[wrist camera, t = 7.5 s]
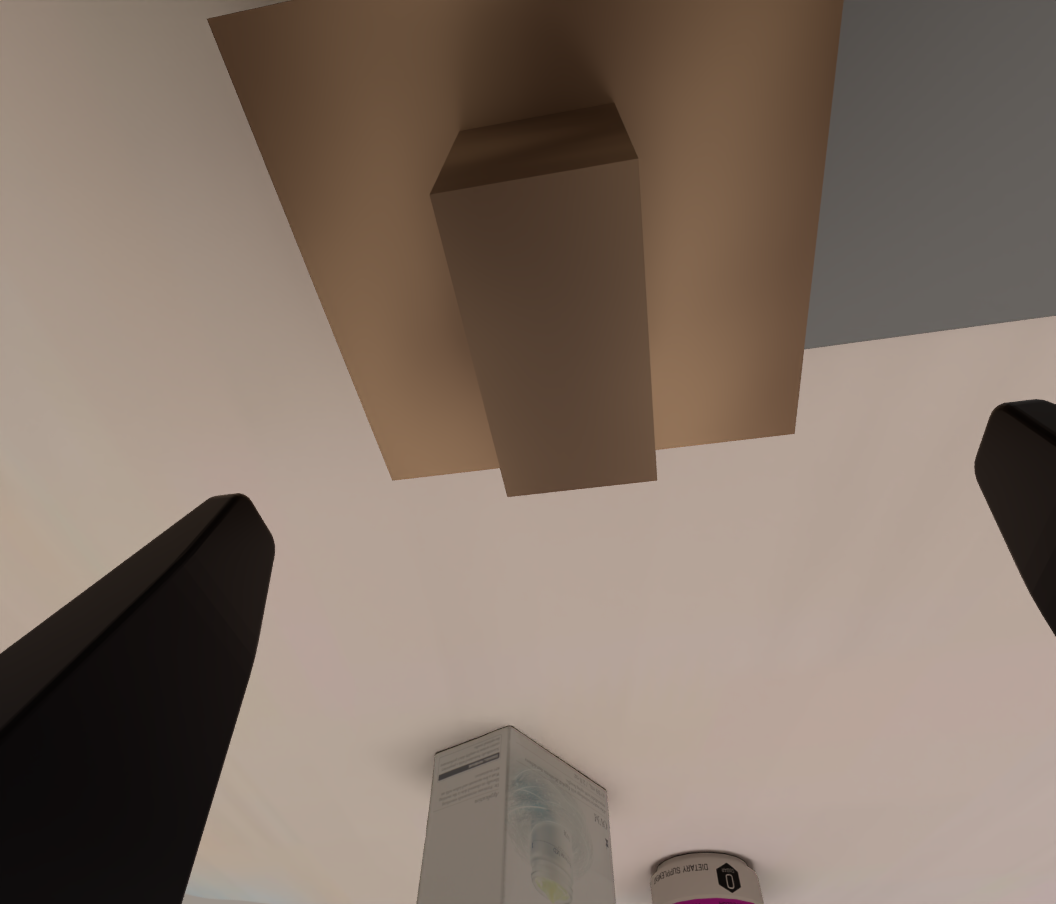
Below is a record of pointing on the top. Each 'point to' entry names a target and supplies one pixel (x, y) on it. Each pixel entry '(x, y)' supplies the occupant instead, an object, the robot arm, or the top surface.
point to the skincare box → (514, 828)
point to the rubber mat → (937, 170)
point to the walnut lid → (551, 217)
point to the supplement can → (705, 881)
